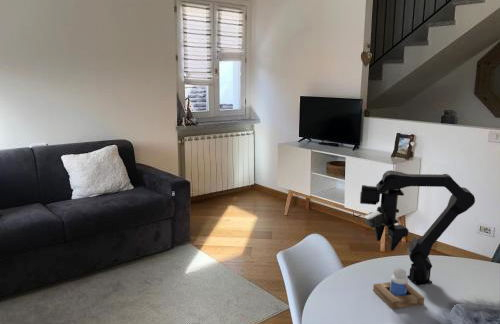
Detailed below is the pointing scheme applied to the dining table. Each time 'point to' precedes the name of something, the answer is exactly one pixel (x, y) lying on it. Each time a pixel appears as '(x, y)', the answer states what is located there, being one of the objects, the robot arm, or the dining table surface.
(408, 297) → the socket block
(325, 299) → the dining table surface
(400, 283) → the pill bottle
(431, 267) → the robot arm
